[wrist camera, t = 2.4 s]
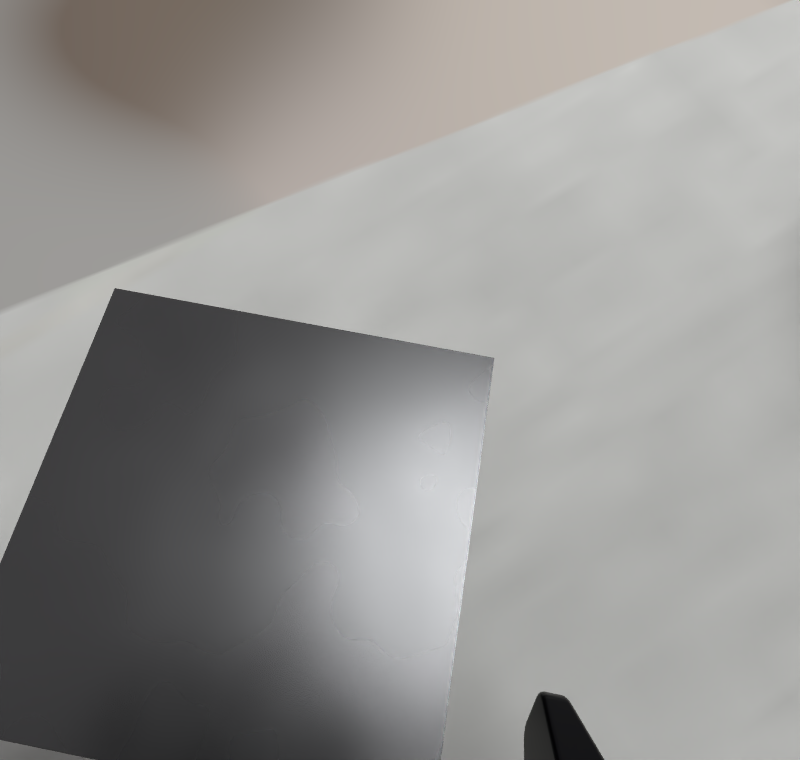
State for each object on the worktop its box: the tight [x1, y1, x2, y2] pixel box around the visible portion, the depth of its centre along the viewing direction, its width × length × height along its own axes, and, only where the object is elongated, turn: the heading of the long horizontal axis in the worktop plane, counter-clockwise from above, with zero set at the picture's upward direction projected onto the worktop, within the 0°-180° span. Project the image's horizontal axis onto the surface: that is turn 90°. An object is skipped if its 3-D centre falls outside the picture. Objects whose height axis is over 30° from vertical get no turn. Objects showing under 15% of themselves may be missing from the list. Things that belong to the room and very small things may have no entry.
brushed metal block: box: [0, 288, 494, 760], centre depth 12 cm, size 5×5×12 cm
